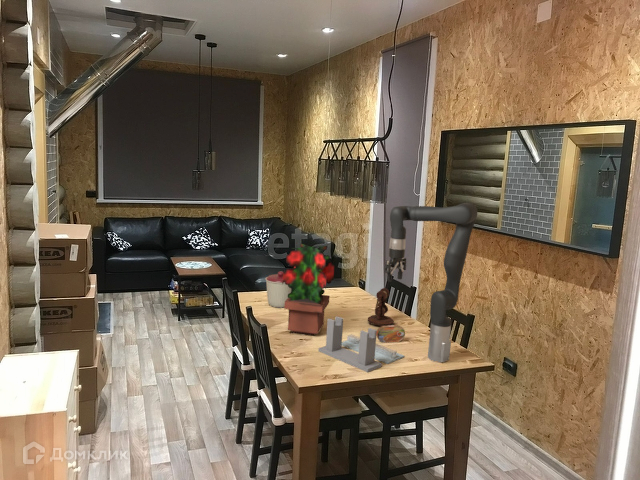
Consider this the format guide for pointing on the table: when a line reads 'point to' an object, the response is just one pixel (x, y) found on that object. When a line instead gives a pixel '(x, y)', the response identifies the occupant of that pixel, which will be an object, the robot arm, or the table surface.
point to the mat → (377, 356)
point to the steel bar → (378, 348)
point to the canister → (277, 290)
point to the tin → (390, 334)
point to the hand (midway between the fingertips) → (394, 280)
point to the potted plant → (307, 288)
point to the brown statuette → (381, 310)
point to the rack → (357, 360)
